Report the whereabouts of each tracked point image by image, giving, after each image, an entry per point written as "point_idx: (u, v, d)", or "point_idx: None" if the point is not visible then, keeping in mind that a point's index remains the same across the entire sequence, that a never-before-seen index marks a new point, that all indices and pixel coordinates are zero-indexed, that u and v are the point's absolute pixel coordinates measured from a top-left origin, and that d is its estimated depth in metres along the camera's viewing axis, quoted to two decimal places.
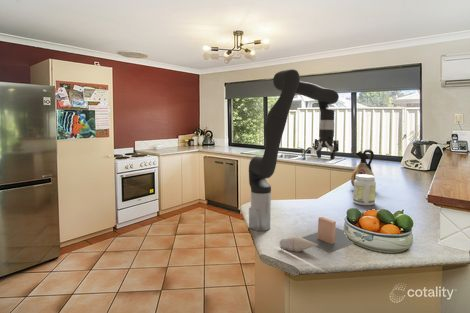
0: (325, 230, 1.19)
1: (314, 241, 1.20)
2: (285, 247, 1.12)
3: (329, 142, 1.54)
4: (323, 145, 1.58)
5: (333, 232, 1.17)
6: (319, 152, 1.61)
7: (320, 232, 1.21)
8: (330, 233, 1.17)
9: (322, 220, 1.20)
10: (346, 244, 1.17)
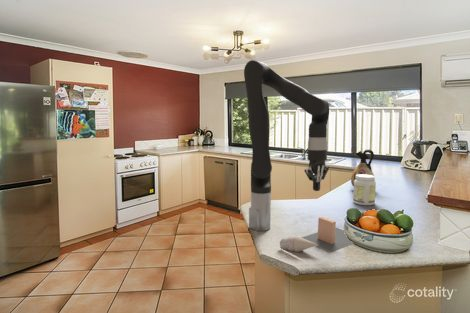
0: (325, 230, 1.19)
1: (314, 241, 1.20)
2: (285, 247, 1.12)
3: None
4: None
5: (333, 232, 1.17)
6: None
7: (320, 232, 1.21)
8: (330, 233, 1.17)
9: (322, 220, 1.20)
10: (346, 244, 1.17)
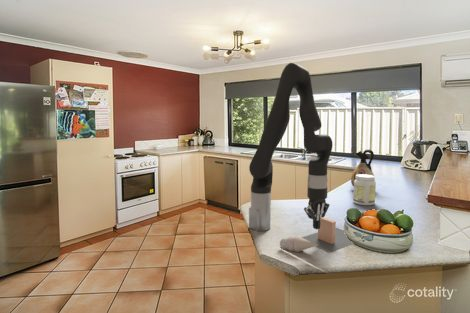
0: (325, 230, 1.19)
1: (314, 241, 1.20)
2: (285, 247, 1.12)
3: (323, 205, 1.16)
4: None
5: (333, 232, 1.17)
6: None
7: (320, 232, 1.21)
8: (330, 233, 1.17)
9: (322, 220, 1.20)
10: (346, 244, 1.17)
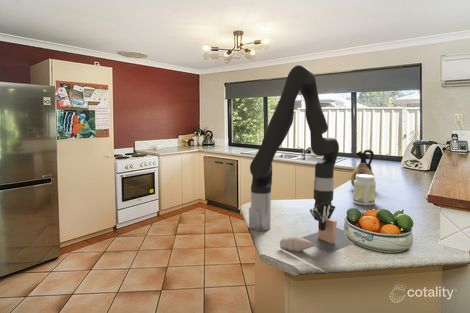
0: (326, 229, 1.19)
1: (314, 241, 1.20)
2: (285, 247, 1.12)
3: None
4: None
5: (334, 232, 1.17)
6: None
7: (320, 232, 1.21)
8: (331, 232, 1.17)
9: None
10: (346, 244, 1.17)
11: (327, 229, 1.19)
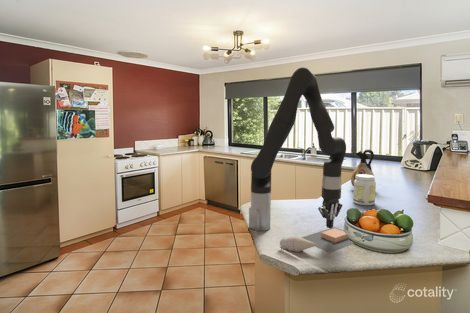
0: (335, 233, 1.23)
1: (314, 241, 1.20)
2: (285, 247, 1.12)
3: (336, 205, 1.20)
4: None
5: (342, 237, 1.21)
6: None
7: (328, 232, 1.24)
8: (340, 235, 1.21)
9: (337, 229, 1.27)
10: (346, 244, 1.17)
11: (337, 233, 1.23)
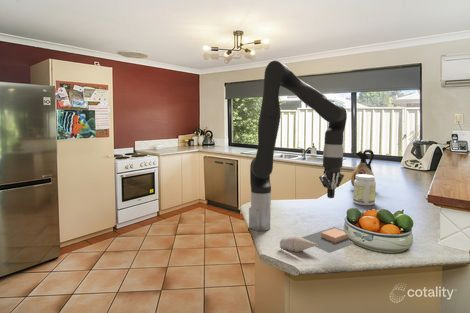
0: (335, 233, 1.23)
1: (314, 241, 1.20)
2: (285, 247, 1.12)
3: (338, 175, 1.19)
4: None
5: (342, 237, 1.21)
6: None
7: (328, 232, 1.24)
8: (340, 235, 1.21)
9: (337, 229, 1.27)
10: (346, 244, 1.17)
11: (337, 233, 1.23)
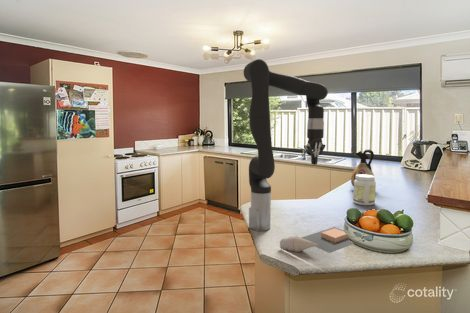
0: (335, 233, 1.23)
1: (314, 241, 1.20)
2: (285, 247, 1.12)
3: (320, 145, 1.40)
4: (317, 145, 1.39)
5: (342, 237, 1.21)
6: None
7: (328, 232, 1.24)
8: (340, 235, 1.21)
9: (337, 229, 1.27)
10: (346, 244, 1.17)
11: (337, 233, 1.23)
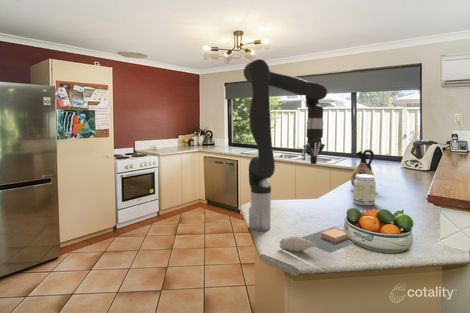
0: (335, 233, 1.23)
1: (314, 241, 1.20)
2: (285, 247, 1.12)
3: (319, 145, 1.41)
4: (316, 145, 1.39)
5: (342, 237, 1.21)
6: None
7: (328, 232, 1.24)
8: (340, 235, 1.21)
9: (337, 229, 1.27)
10: (346, 244, 1.17)
11: (337, 233, 1.23)
